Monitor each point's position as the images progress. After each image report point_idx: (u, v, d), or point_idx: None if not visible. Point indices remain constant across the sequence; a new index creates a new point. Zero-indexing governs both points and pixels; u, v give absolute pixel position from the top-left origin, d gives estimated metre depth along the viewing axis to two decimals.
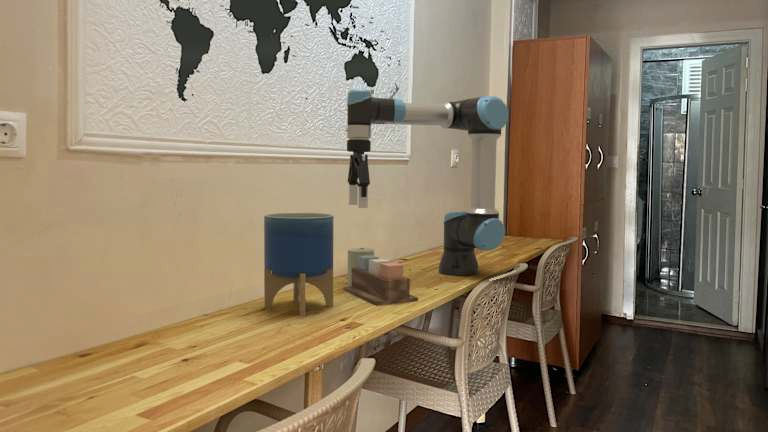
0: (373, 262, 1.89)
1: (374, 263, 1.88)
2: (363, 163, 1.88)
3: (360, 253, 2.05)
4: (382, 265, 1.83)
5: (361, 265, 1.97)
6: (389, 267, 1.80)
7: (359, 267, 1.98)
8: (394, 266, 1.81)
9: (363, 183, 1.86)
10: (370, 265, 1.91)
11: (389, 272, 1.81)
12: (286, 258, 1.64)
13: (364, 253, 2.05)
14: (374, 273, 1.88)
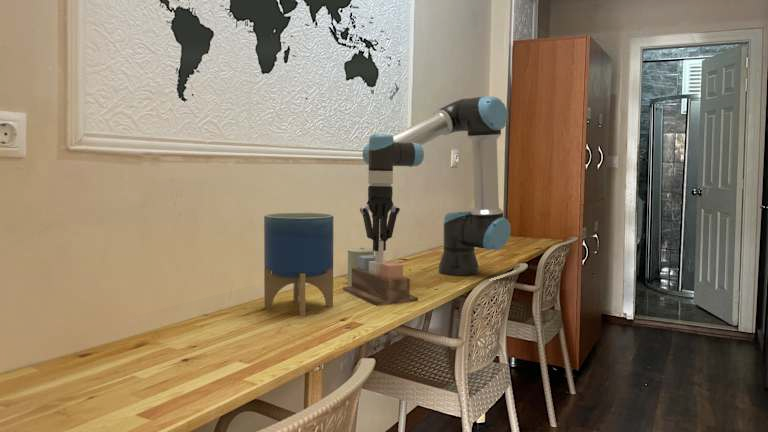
0: (373, 264, 1.89)
1: (374, 264, 1.88)
2: (364, 217, 1.87)
3: (360, 253, 2.05)
4: (382, 265, 1.83)
5: (361, 265, 1.97)
6: (389, 267, 1.80)
7: (359, 267, 1.98)
8: (394, 266, 1.81)
9: (368, 237, 1.89)
10: (370, 267, 1.91)
11: (389, 272, 1.81)
12: (286, 258, 1.64)
13: (364, 253, 2.05)
14: None
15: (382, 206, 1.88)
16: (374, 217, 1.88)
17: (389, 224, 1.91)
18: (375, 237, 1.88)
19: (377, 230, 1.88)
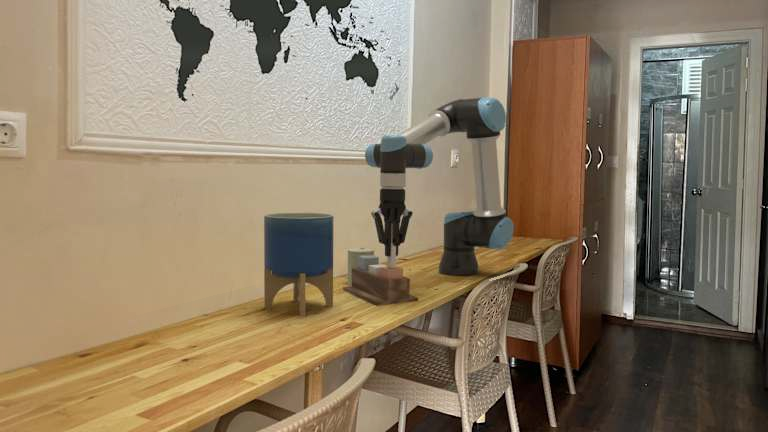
0: (373, 268, 1.89)
1: (374, 268, 1.88)
2: (376, 221, 1.80)
3: (360, 253, 2.05)
4: (382, 269, 1.83)
5: (361, 265, 1.97)
6: (389, 271, 1.80)
7: (359, 267, 1.98)
8: (394, 270, 1.81)
9: (380, 242, 1.82)
10: (370, 271, 1.91)
11: (389, 275, 1.81)
12: (286, 258, 1.64)
13: (364, 253, 2.05)
14: None
15: (394, 210, 1.81)
16: (386, 221, 1.81)
17: (401, 228, 1.84)
18: (387, 242, 1.81)
19: (389, 235, 1.81)
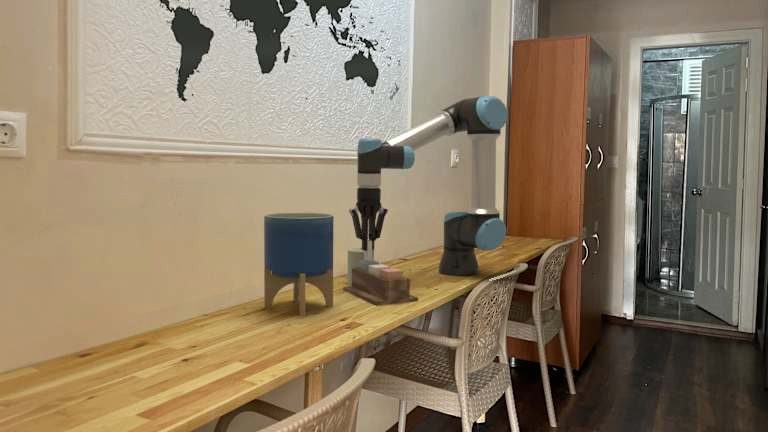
0: (373, 268, 1.89)
1: (374, 268, 1.88)
2: (353, 218, 1.94)
3: (360, 253, 2.05)
4: (382, 271, 1.84)
5: None
6: (389, 273, 1.81)
7: None
8: (394, 272, 1.81)
9: (357, 237, 1.96)
10: (370, 271, 1.91)
11: (389, 278, 1.81)
12: (286, 258, 1.64)
13: None
14: None
15: (370, 207, 1.95)
16: (363, 218, 1.96)
17: (377, 225, 1.98)
18: (364, 237, 1.95)
19: (366, 230, 1.95)
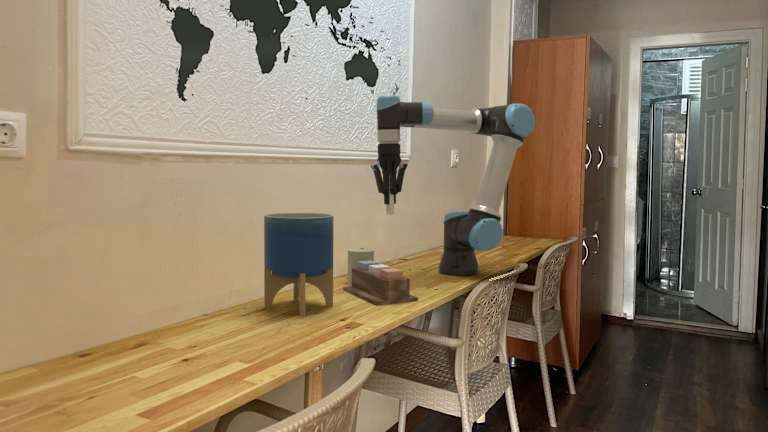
0: (373, 268, 1.89)
1: (374, 268, 1.88)
2: (375, 173, 2.02)
3: (360, 253, 2.05)
4: (382, 271, 1.84)
5: None
6: (389, 273, 1.81)
7: None
8: (394, 272, 1.81)
9: (379, 192, 2.03)
10: (370, 271, 1.91)
11: (389, 278, 1.81)
12: (286, 258, 1.64)
13: (364, 253, 2.05)
14: None
15: (391, 162, 2.03)
16: (384, 173, 2.03)
17: (398, 179, 2.06)
18: (386, 191, 2.03)
19: (387, 185, 2.03)
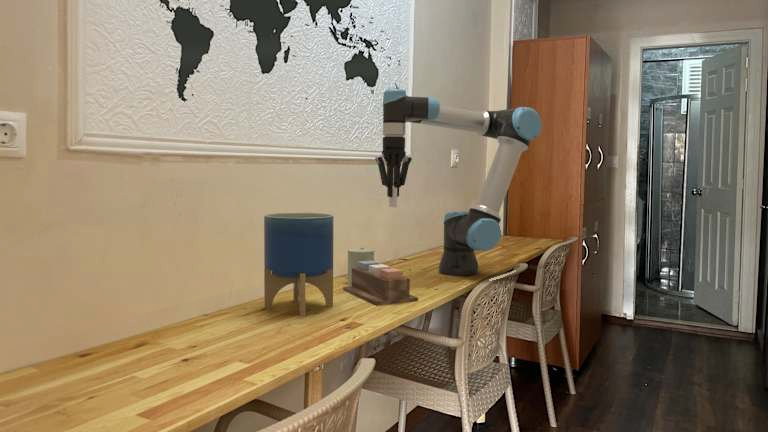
0: (373, 268, 1.89)
1: (374, 268, 1.88)
2: (379, 165, 2.04)
3: (360, 253, 2.05)
4: (382, 271, 1.84)
5: None
6: (389, 273, 1.81)
7: None
8: (394, 272, 1.81)
9: (383, 184, 2.06)
10: (370, 271, 1.91)
11: (389, 278, 1.81)
12: (286, 258, 1.64)
13: (364, 253, 2.05)
14: None
15: (396, 155, 2.05)
16: (388, 166, 2.05)
17: (402, 172, 2.08)
18: (389, 184, 2.05)
19: (391, 177, 2.05)
